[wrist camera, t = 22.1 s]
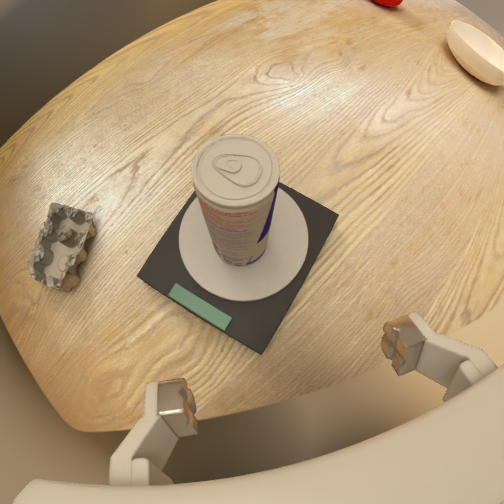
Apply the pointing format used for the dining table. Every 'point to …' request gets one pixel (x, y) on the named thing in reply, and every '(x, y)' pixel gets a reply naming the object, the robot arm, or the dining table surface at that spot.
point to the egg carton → (61, 247)
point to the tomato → (388, 2)
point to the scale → (240, 268)
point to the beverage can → (237, 195)
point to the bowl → (476, 52)
